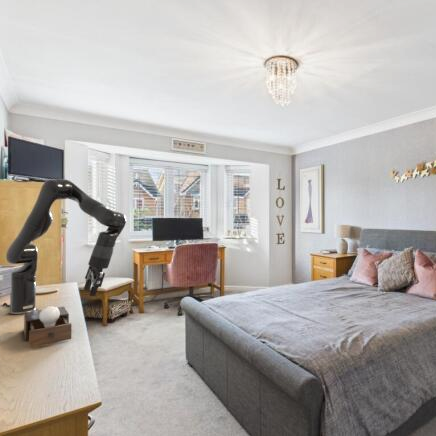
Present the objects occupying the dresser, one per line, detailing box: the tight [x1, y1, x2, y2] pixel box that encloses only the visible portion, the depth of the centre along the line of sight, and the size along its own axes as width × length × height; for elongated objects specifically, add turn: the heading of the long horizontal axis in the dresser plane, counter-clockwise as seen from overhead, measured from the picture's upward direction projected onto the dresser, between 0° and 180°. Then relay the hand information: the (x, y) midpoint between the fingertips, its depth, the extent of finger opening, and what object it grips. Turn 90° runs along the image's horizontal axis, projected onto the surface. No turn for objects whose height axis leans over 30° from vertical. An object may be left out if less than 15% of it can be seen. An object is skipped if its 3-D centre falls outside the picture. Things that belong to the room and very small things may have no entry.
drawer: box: [28, 317, 72, 349], centre depth 120 cm, size 14×12×6 cm
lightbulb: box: [39, 305, 60, 328], centre depth 121 cm, size 6×6×11 cm
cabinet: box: [23, 306, 70, 341], centre depth 130 cm, size 14×14×8 cm
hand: (89, 293), depth 134 cm, fingers open, 8 cm apart
